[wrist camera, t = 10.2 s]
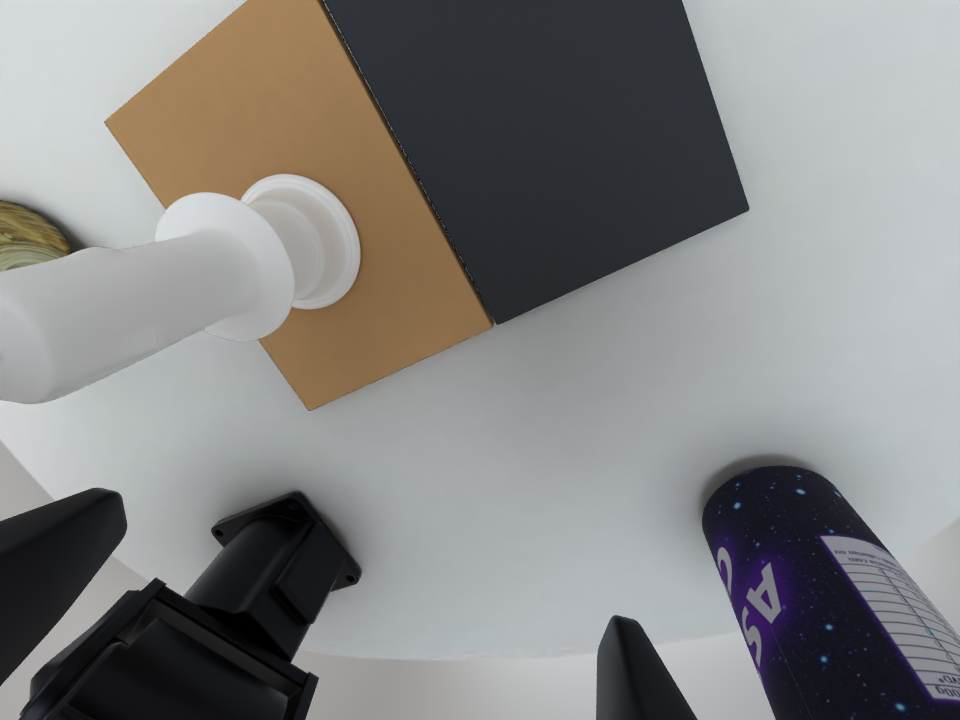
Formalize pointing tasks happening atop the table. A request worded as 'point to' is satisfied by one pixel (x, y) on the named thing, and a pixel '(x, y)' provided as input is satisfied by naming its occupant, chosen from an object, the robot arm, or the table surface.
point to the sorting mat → (446, 155)
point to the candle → (175, 285)
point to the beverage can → (827, 604)
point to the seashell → (27, 238)
